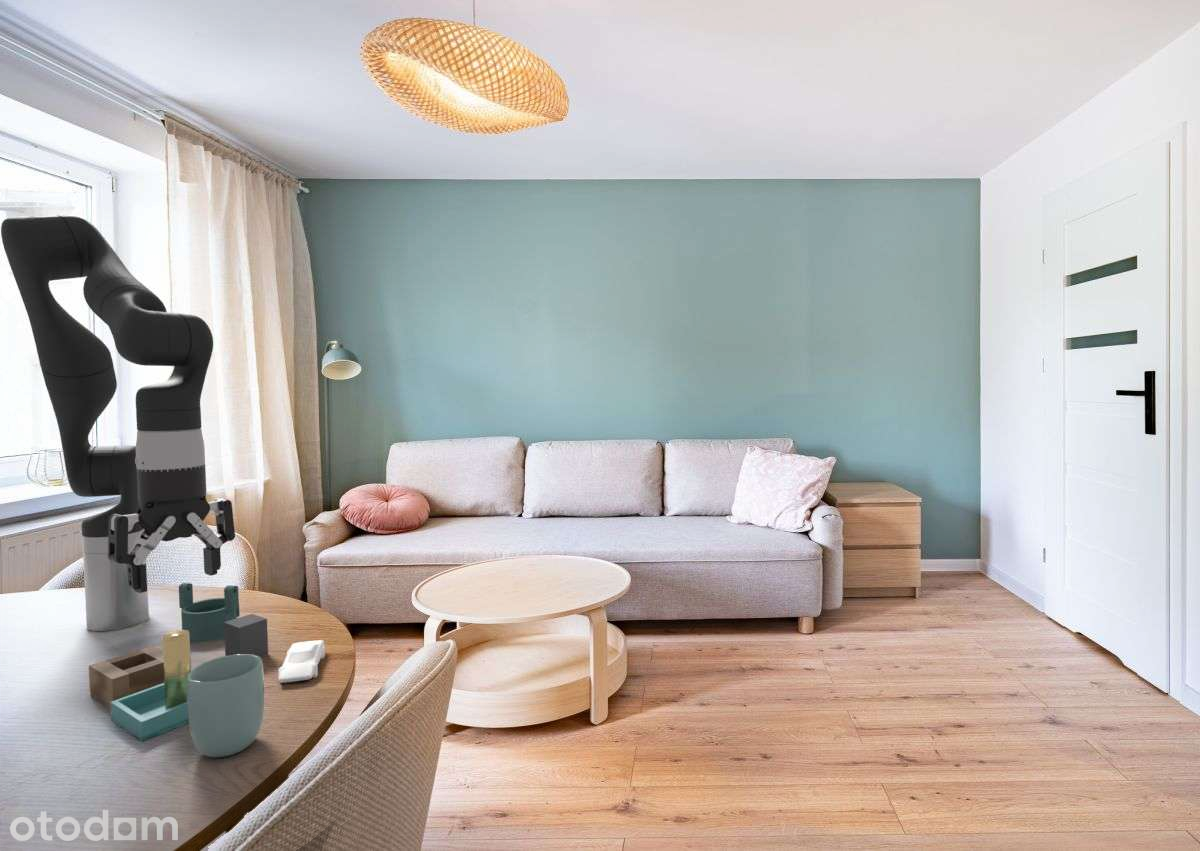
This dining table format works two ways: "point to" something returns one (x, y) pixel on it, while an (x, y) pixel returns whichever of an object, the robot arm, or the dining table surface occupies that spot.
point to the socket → (126, 674)
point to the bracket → (207, 613)
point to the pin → (176, 667)
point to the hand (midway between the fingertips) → (177, 582)
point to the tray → (147, 713)
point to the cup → (225, 704)
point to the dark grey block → (246, 636)
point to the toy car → (302, 661)
